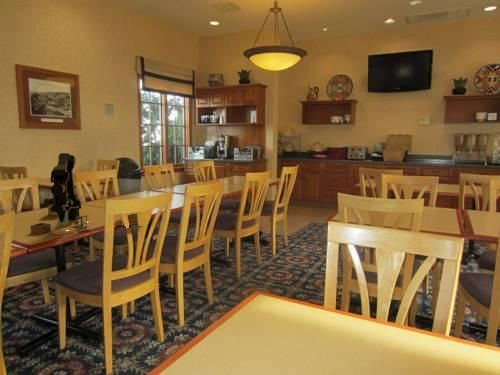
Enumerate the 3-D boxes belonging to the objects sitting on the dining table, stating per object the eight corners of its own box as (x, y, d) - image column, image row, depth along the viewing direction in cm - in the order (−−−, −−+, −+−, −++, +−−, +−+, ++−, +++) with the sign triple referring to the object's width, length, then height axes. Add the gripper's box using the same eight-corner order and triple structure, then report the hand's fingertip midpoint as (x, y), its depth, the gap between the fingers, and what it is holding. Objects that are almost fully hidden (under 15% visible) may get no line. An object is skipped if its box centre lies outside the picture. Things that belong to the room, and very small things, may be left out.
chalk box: (48, 216, 237) (46, 193, 235) (51, 213, 246) (50, 190, 243) (64, 215, 239) (62, 192, 237) (67, 212, 248) (65, 190, 246)
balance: (70, 226, 212) (69, 213, 211) (78, 224, 216) (77, 211, 215) (85, 230, 203) (84, 216, 202) (93, 228, 208) (93, 215, 206)
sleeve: (41, 229, 204) (40, 222, 204) (50, 230, 202) (50, 223, 202) (31, 232, 198) (30, 225, 197) (40, 234, 196) (40, 226, 195)
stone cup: (140, 221, 225) (139, 197, 222) (143, 226, 214) (142, 200, 212) (113, 223, 219) (112, 198, 216) (115, 228, 208) (114, 202, 206)
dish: (68, 228, 208) (68, 226, 208) (79, 231, 202) (79, 229, 201) (48, 232, 199) (48, 230, 199) (59, 236, 193) (59, 234, 192)
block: (68, 222, 202) (67, 210, 201) (66, 224, 198) (65, 211, 197) (60, 223, 201) (59, 210, 200) (58, 224, 197) (57, 211, 196)
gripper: (50, 189, 205) (52, 217, 207) (38, 195, 186) (40, 226, 189) (72, 189, 207) (74, 216, 209) (62, 195, 188) (64, 225, 191)
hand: (63, 221), depth 199 cm, fingers closed on block, 4 cm apart
